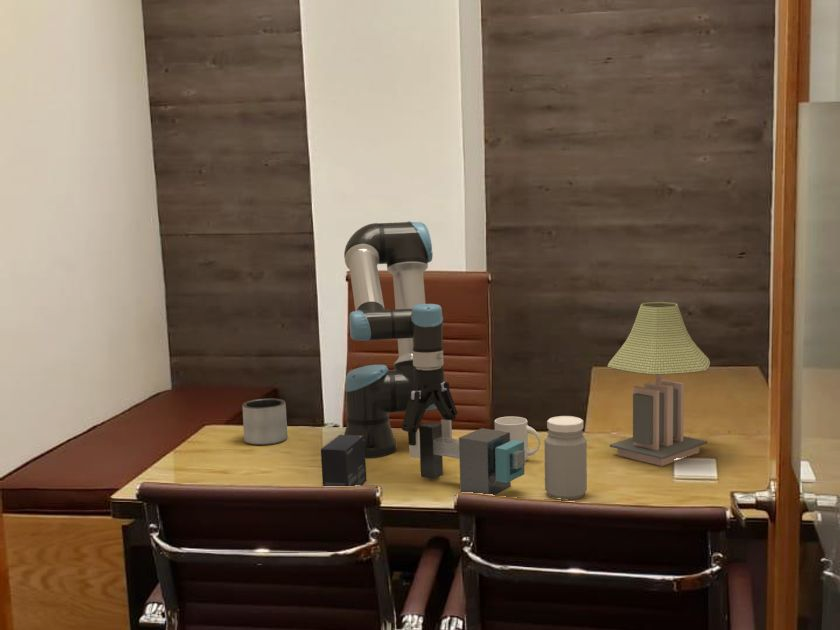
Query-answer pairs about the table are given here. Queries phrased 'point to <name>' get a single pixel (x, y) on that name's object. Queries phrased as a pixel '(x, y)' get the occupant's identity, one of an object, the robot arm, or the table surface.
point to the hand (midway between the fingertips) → (431, 451)
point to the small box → (344, 461)
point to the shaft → (447, 451)
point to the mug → (517, 431)
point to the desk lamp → (659, 384)
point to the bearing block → (481, 461)
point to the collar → (507, 461)
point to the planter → (264, 421)
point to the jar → (565, 458)
